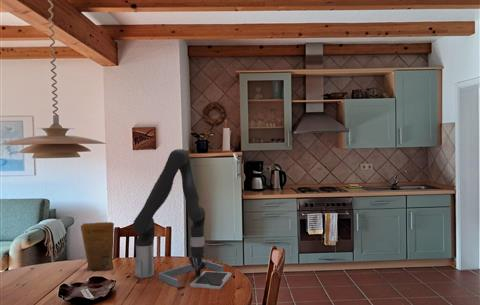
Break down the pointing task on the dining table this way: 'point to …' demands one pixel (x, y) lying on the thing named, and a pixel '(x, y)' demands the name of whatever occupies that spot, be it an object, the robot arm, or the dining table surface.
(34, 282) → the dining table surface
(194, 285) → the picture frame
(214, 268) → the open-front box
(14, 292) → the dining table surface
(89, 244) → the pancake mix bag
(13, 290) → the dining table surface
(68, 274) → the dining table surface
